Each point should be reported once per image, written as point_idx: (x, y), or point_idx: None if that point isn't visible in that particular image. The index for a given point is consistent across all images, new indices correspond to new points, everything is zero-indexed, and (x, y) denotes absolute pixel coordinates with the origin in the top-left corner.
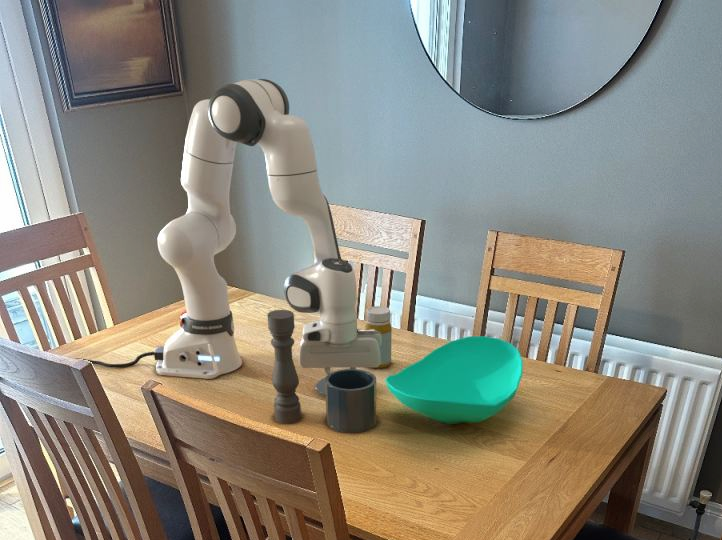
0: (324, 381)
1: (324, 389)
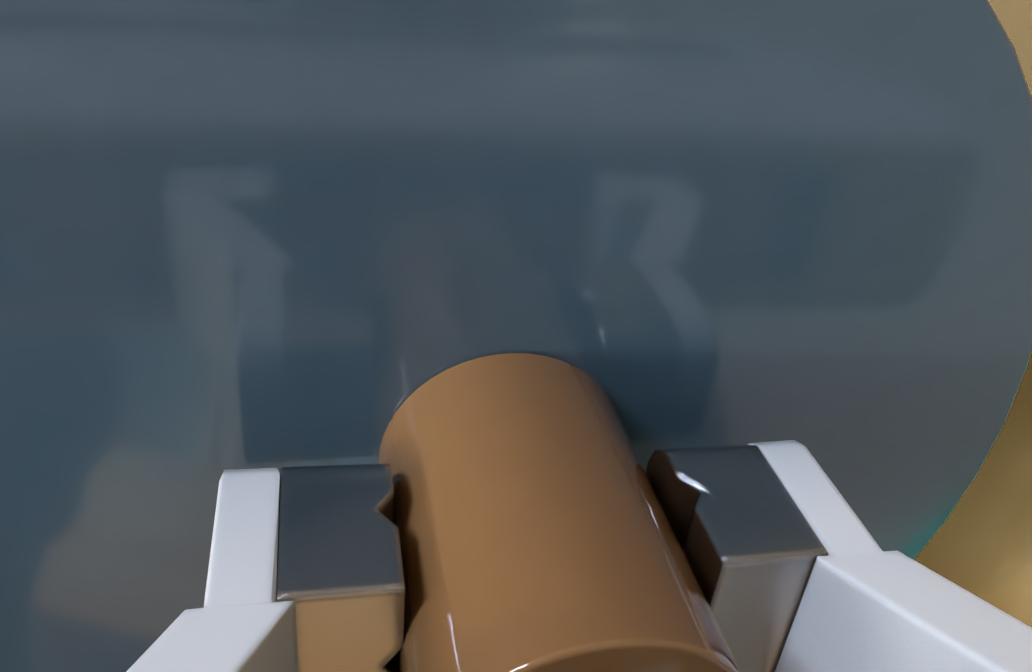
0: (29, 253)
1: (126, 637)
